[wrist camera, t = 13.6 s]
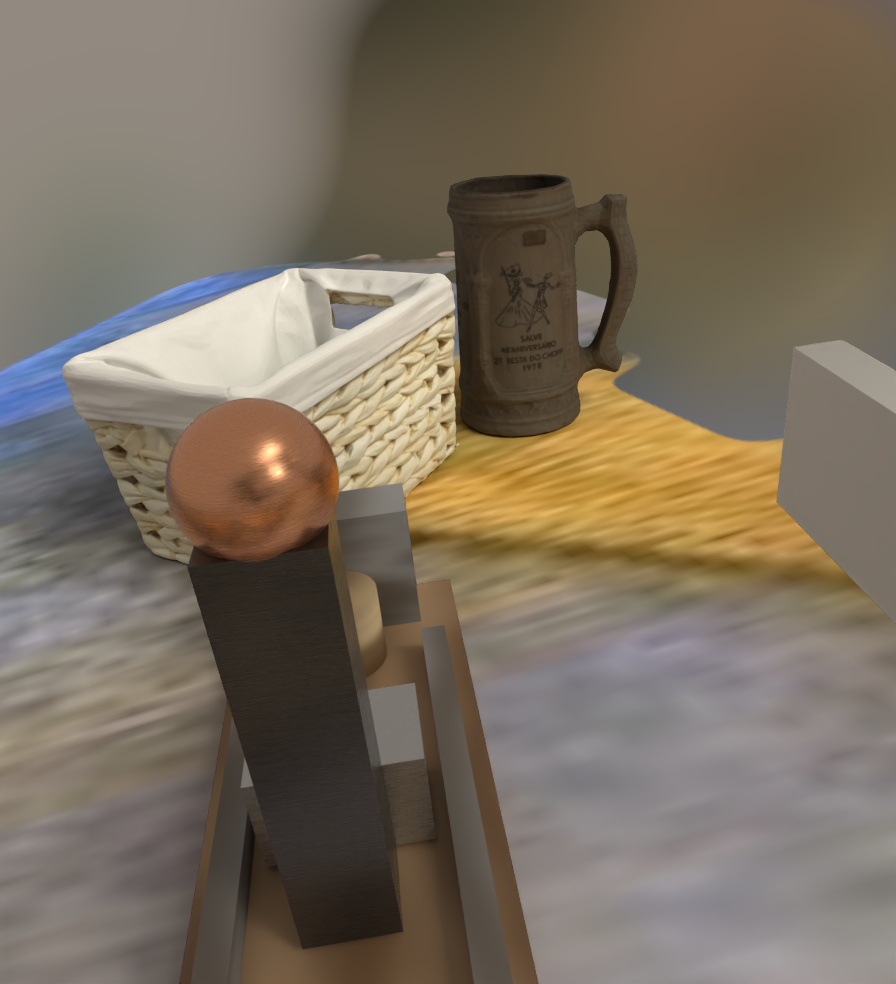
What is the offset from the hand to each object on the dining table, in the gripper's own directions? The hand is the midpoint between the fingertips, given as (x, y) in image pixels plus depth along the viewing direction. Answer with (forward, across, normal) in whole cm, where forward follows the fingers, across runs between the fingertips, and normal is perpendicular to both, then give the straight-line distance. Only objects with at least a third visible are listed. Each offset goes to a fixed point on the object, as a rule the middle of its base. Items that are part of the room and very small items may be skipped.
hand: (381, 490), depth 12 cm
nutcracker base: (+15, -4, -23) cm, 28 cm away
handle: (+10, -4, -21) cm, 23 cm away
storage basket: (+43, -7, -24) cm, 49 cm away
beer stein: (+54, +14, -24) cm, 61 cm away
